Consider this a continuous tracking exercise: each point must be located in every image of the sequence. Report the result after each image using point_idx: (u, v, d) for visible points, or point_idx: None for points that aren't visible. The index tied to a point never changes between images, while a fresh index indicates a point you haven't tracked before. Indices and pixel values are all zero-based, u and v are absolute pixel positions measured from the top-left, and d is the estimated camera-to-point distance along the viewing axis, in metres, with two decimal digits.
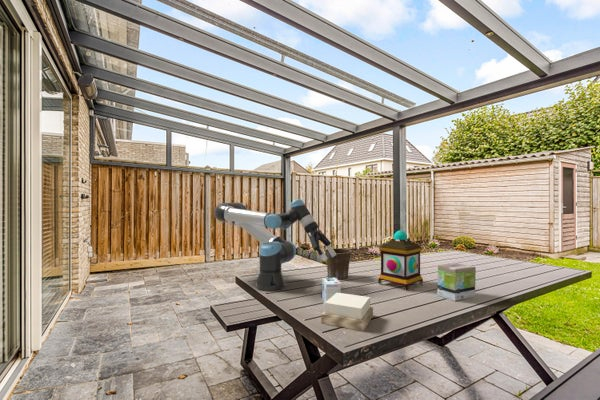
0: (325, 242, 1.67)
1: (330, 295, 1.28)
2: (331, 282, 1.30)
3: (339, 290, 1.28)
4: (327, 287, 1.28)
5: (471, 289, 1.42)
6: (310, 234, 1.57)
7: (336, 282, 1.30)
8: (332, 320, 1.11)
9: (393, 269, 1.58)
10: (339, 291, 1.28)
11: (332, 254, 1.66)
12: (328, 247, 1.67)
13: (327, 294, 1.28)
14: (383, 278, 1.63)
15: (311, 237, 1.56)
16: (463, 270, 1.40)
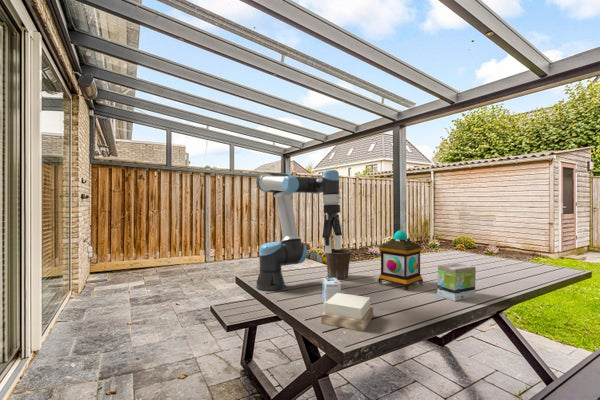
0: (336, 231, 1.41)
1: (330, 295, 1.28)
2: (331, 282, 1.30)
3: (339, 290, 1.28)
4: (327, 287, 1.28)
5: (471, 289, 1.42)
6: (327, 217, 1.30)
7: (336, 282, 1.30)
8: (332, 320, 1.11)
9: (393, 269, 1.58)
10: (339, 291, 1.28)
11: (336, 246, 1.42)
12: (336, 237, 1.42)
13: (327, 294, 1.28)
14: (383, 278, 1.63)
15: (327, 221, 1.30)
16: (463, 270, 1.40)
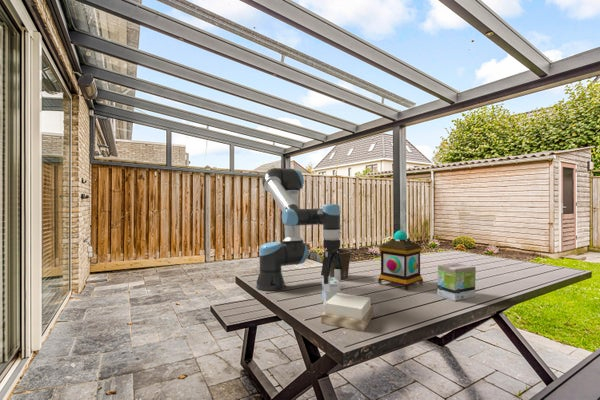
0: (336, 265, 1.37)
1: (330, 295, 1.28)
2: (330, 282, 1.30)
3: (338, 290, 1.28)
4: None
5: (471, 289, 1.42)
6: (327, 254, 1.26)
7: (335, 282, 1.30)
8: (332, 320, 1.11)
9: (393, 269, 1.58)
10: (339, 291, 1.28)
11: None
12: (336, 271, 1.38)
13: (327, 294, 1.28)
14: (383, 278, 1.63)
15: (326, 259, 1.26)
16: (463, 270, 1.40)
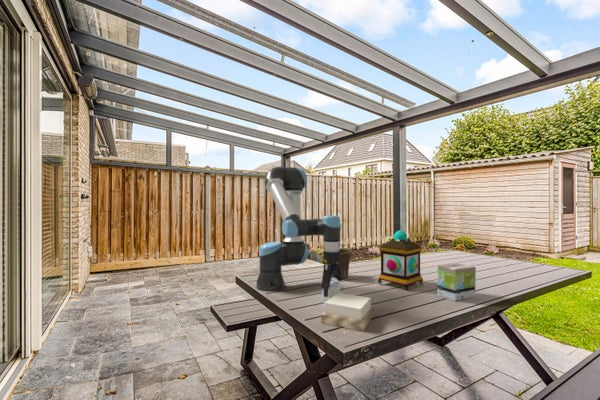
0: (336, 276, 1.37)
1: None
2: (331, 282, 1.30)
3: (338, 290, 1.28)
4: None
5: (471, 289, 1.42)
6: (326, 267, 1.26)
7: (336, 282, 1.30)
8: (332, 320, 1.11)
9: (393, 269, 1.58)
10: (339, 291, 1.28)
11: None
12: None
13: None
14: (383, 278, 1.63)
15: (326, 271, 1.26)
16: (463, 270, 1.40)
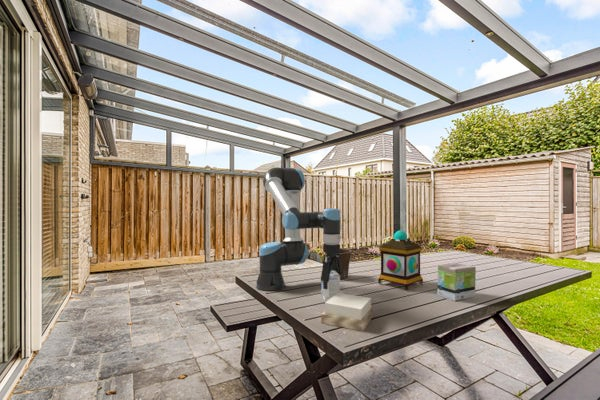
0: (335, 269, 1.37)
1: (329, 288, 1.28)
2: (330, 275, 1.30)
3: (338, 283, 1.28)
4: None
5: (471, 289, 1.42)
6: (326, 260, 1.27)
7: (335, 275, 1.30)
8: (332, 320, 1.11)
9: (393, 269, 1.58)
10: (338, 284, 1.28)
11: None
12: None
13: None
14: (383, 278, 1.63)
15: (325, 264, 1.26)
16: (463, 270, 1.40)
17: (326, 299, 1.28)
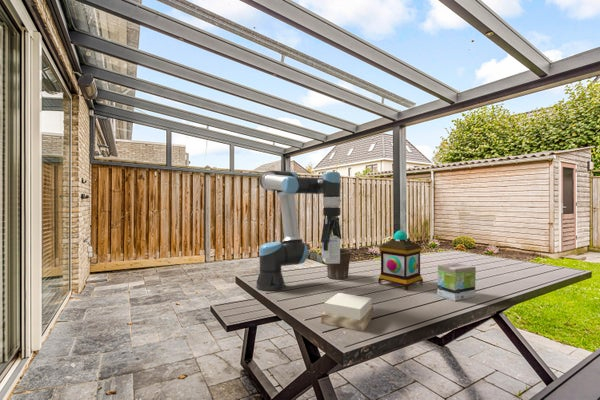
0: (336, 234, 1.37)
1: None
2: (330, 237, 1.30)
3: (338, 245, 1.28)
4: None
5: (471, 289, 1.42)
6: (326, 221, 1.26)
7: (335, 237, 1.30)
8: (332, 320, 1.11)
9: (393, 269, 1.58)
10: (338, 246, 1.28)
11: None
12: None
13: None
14: (383, 278, 1.63)
15: (326, 226, 1.26)
16: (463, 270, 1.40)
17: (326, 261, 1.28)
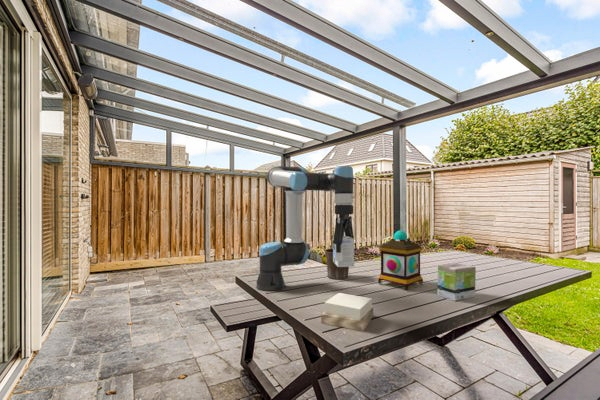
0: (348, 234, 1.25)
1: None
2: (343, 238, 1.18)
3: (352, 246, 1.16)
4: None
5: (471, 289, 1.42)
6: (339, 220, 1.14)
7: (349, 238, 1.18)
8: (332, 320, 1.11)
9: (393, 269, 1.58)
10: (352, 247, 1.16)
11: None
12: None
13: None
14: (383, 278, 1.63)
15: (338, 225, 1.14)
16: (463, 270, 1.40)
17: (339, 264, 1.15)
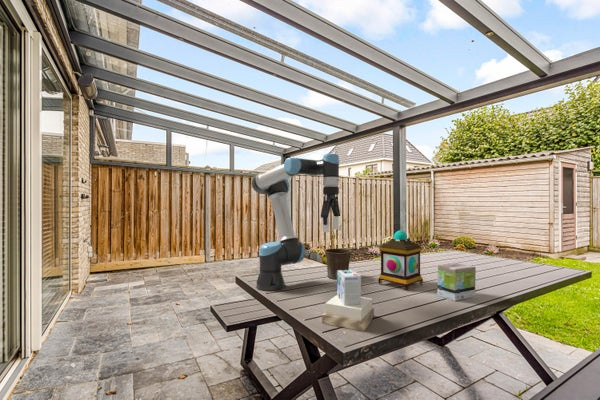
0: (335, 212, 1.48)
1: (349, 289, 1.11)
2: (349, 274, 1.14)
3: (359, 283, 1.12)
4: (346, 280, 1.11)
5: (471, 289, 1.42)
6: (326, 198, 1.37)
7: (355, 274, 1.14)
8: (333, 320, 1.11)
9: (393, 269, 1.58)
10: (359, 284, 1.12)
11: (334, 227, 1.49)
12: (335, 218, 1.49)
13: (346, 288, 1.11)
14: (383, 278, 1.63)
15: (325, 202, 1.37)
16: (463, 270, 1.40)
17: (346, 303, 1.11)
